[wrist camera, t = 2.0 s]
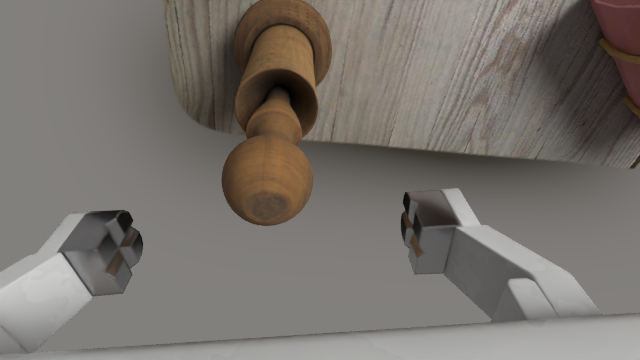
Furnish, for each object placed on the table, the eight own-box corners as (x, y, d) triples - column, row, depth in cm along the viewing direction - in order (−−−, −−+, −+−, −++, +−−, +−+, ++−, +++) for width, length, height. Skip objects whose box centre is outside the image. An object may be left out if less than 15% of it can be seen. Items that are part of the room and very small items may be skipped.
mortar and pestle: (326, -12, 23) (373, 96, 9) (333, 82, 27) (373, 266, 13) (227, 0, 23) (111, 124, 9) (248, 92, 27) (191, 284, 13)
